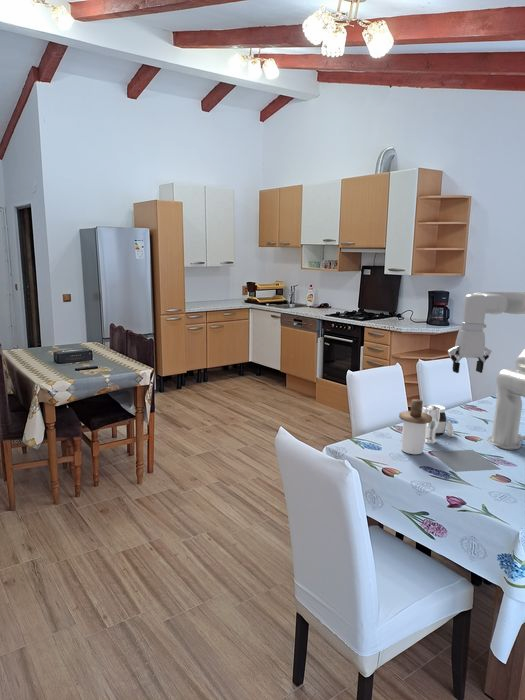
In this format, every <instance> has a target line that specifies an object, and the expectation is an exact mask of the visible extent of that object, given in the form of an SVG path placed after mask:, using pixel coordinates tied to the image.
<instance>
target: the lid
mask: <svg viewBox="0 0 525 700" xmlns="http://www.w3.org/2000/svg"><path fill="white" fill-rule="evenodd" d="M423 401H424V400H422V399H417V398H414V399H412V398H411V404H410V410H404V411H401V412H399V413H398V414H399V415H398V416H399V419H400V420H402V421H403V422H404V421H407V422H411V423H417V424H425V423H430V422H431V421H432V416H430V415H429V414H426V413H423V412H422V410H423Z"/></svg>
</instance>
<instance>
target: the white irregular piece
mask: <svg viewBox="0 0 525 700" xmlns="http://www.w3.org/2000/svg"><path fill="white" fill-rule="evenodd" d="M433 405H434V406H437V407H439V408H440V419H439V424H438V428H437V431H436V436H435V437H439V436H440V435H441V436H443V435H445V432H446V433H447V435H448V437H449V438H453V437H454V426H453V423H452V421H451V420H447V414H446V407H445V406H443V405H440V404H433Z"/></svg>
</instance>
